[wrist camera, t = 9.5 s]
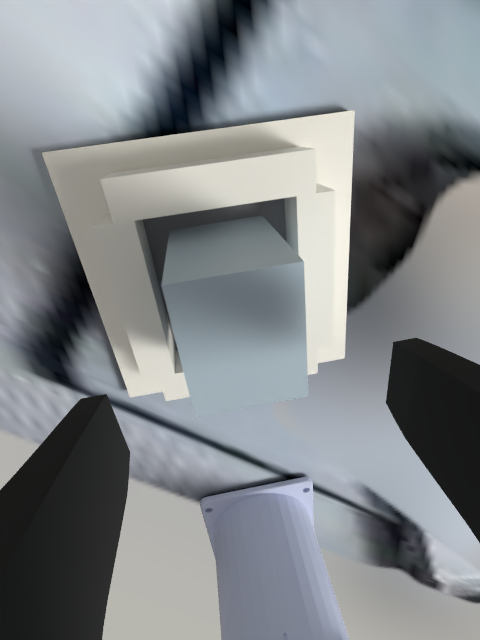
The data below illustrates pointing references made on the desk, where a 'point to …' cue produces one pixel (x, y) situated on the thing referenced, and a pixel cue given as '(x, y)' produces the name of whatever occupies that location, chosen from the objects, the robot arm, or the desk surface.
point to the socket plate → (206, 208)
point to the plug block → (237, 314)
